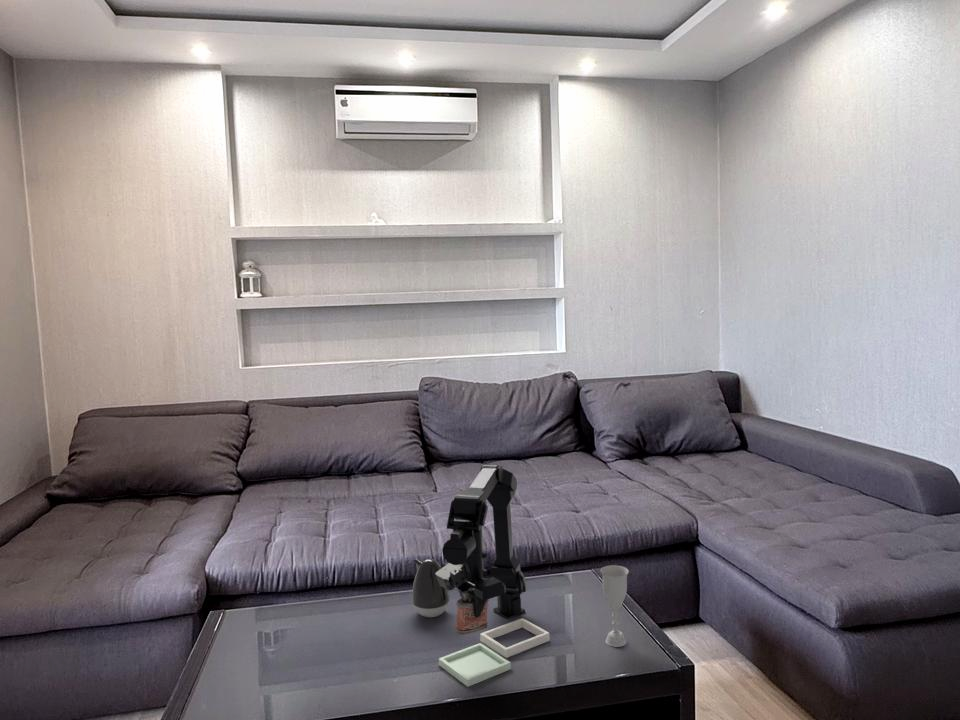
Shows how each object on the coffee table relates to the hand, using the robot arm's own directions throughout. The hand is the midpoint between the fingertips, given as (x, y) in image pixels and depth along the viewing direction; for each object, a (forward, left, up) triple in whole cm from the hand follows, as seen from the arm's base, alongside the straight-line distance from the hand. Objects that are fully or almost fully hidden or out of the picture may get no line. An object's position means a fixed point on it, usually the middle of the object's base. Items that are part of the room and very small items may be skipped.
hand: (472, 614), depth 163 cm
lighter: (-1, 0, -4) cm, 4 cm away
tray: (0, 0, -13) cm, 13 cm away
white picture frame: (-4, +15, -13) cm, 20 cm away
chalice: (+12, +34, -13) cm, 38 cm away
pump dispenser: (-31, +7, -13) cm, 34 cm away
